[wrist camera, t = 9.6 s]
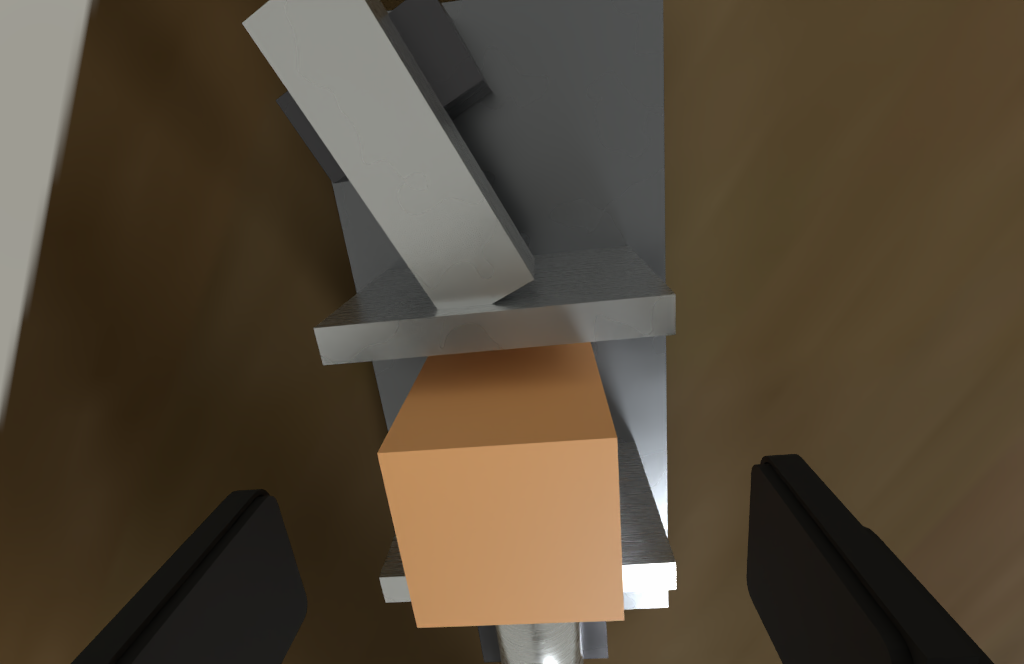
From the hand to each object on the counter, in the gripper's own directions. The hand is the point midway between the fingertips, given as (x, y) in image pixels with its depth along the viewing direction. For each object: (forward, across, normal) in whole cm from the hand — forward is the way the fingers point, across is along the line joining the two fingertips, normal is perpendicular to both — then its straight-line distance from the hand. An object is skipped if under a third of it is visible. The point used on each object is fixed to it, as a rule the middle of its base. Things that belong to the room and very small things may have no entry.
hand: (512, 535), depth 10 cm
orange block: (+6, 0, -1) cm, 6 cm away
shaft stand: (+8, 0, -1) cm, 8 cm away
